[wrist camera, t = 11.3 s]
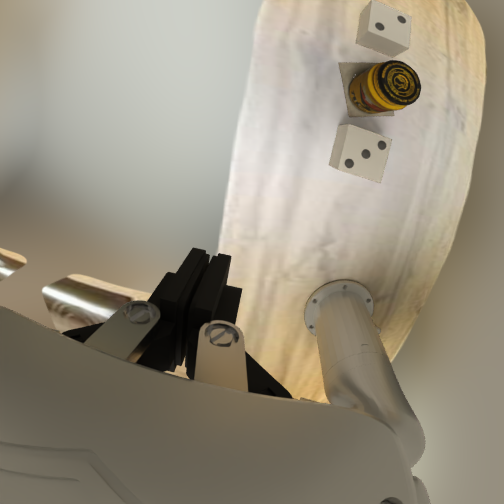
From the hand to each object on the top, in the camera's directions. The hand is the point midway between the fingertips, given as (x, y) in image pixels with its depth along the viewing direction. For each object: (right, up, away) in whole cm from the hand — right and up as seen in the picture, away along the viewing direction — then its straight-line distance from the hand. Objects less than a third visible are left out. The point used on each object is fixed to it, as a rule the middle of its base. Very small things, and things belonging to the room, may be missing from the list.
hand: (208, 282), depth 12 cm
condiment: (+18, +25, +20) cm, 37 cm away
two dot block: (+20, +33, +16) cm, 42 cm away
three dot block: (+16, +16, +24) cm, 33 cm away
